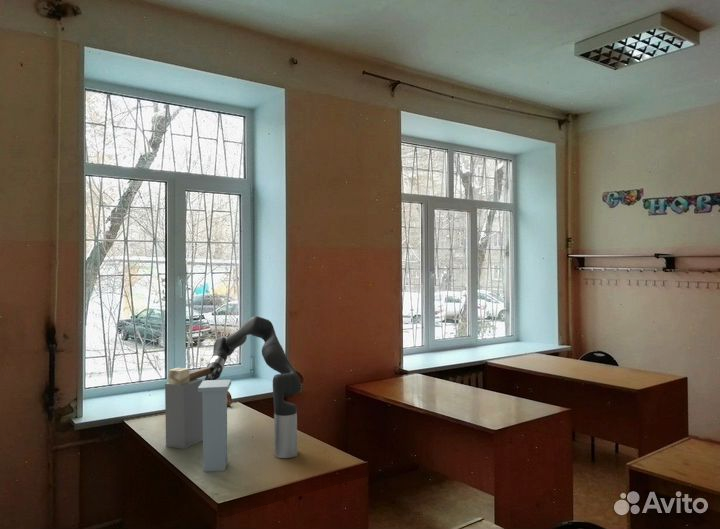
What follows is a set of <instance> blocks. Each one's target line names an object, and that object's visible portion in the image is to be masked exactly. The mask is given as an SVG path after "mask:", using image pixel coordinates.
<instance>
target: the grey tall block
mask: <svg viewBox="0 0 720 529" xmlns="http://www.w3.org/2000/svg"><path fill="white" fill-rule="evenodd" d="M202 381H203V379H201V378H197V379H194V380H191V381H189V382H188V383H185V384H182V385H172V384H169V382H167V383H165V384H164V390H165V391H164V396H165V398H164V400H165V402H164V403H165V404H164V405H165V408H164V409H165V447H169V448H176V449H181V450H185V449H187V448H189V447H192V446H193V445H196V444H198V443H200V442H201V441H202V442H203V406H202V392H198V387H199V386H200V384H201V383H202Z"/></svg>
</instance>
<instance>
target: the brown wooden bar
mask: <svg viewBox="0 0 720 529" xmlns="http://www.w3.org/2000/svg"><path fill="white" fill-rule="evenodd" d="M209 374H210V368H207V366H205V367H202V368H198V369H195V370H192V371H190V368H189V367H175V368H172V369H169V370H168V383H169V384H172V385H182V384H185V383H188V382H189V381H191V380H194V379H201V378H203V377H206V375H209Z"/></svg>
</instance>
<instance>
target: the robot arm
mask: <svg viewBox="0 0 720 529" xmlns="http://www.w3.org/2000/svg"><path fill="white" fill-rule="evenodd" d="M249 335H251V336H253V337H256V338H260V339H262V340H263V341H264V344H263V345H262V348H261V355H262V357H263V360H264V362H265V364H266V365H267V366H268V367H269V368H271V369H272V370H273V371H276V372H278V373H277V374H274V375H273V378H272V395H273V396H272V397H273V399H272V400H273V412H274V413H273V419H274V420H273V423H274V424H273V426H274V429H273V430H274V432H273V433H274V435H273V436H274V438H273V440H274V448H273V449H274V456H275V457H276V458H279V459H291V458H294V457H298V415H297V414H298V407H297V404H295V403H293V402H288V401H285V400H284V397H285V398H286V397H291V396H292V397H293V396H296V395H299V394H300V392H301V390H302V382H301V379H300V377H299V375H298V373H297V371H296V370H295V368H294V367H293V366H292V364H291V363H290V360H289V359H288V356H287V355H286V353H285V351H284V349H283V346H282V345H281V343H280V341H279V339H278V337H277V334H276V331H275V327H274V325H273V323H272V322H271V320H270V319H266V318H263V317H262V316H256V315H253V316H252V317H250V318H249V319H247V321H246V322H245V323H244V324H243V325H241V327H240V328H239V329H238V330H237V331H235V332H233V333H231V334H230V335H228V336H227V337H225V336H219V337H217V339H215V341H214V343H213V352H212V356H211V358H210V360H209V361H208V364H207V366H206V367H207V368H210V374H209V375H206V376H204V378H203V381H205V380H219V378H220V377H221V375H222V373H223V370H224V368H225V364H226V362H227V359H228V357H229V356H231V355H232V354H233V353H234V351H235V350H236V349H238V348H239V347H241V346H242V345H244V343H245V342H246V341H247V336H249Z"/></svg>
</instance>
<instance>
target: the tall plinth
mask: <svg viewBox="0 0 720 529" xmlns="http://www.w3.org/2000/svg"><path fill="white" fill-rule="evenodd" d="M231 385H232V379H216V380H205V381H204V380H202V383H201V384H200V386H199V387H198V392H202V406H203V440H202V460H203V461H202V463H203V464H202V466H203V467H202V471H203V472H217V471H218V472H219V471H220V472H221V471H226V468H227V464H228V461H229V459H228V453H229V452H228V406H227V391H229V389H230V387H231Z"/></svg>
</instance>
